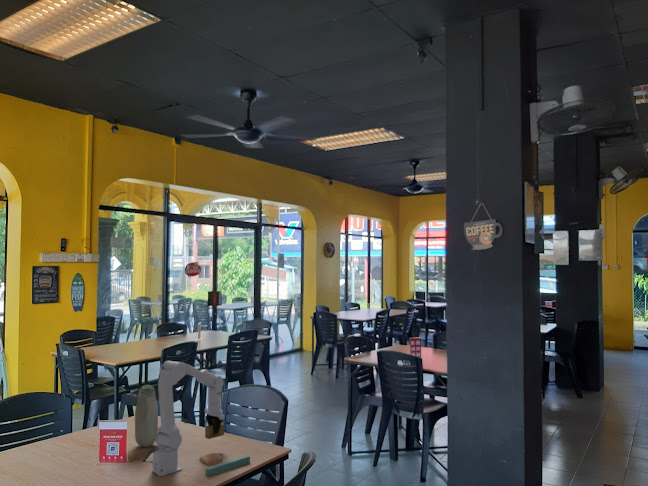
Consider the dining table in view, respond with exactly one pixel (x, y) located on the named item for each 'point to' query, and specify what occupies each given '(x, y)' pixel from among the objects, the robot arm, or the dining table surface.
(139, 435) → the olive grey vase
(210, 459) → the tile
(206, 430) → the tall cardboard box
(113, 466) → the dining table surface
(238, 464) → the rail
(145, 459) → the chocolate bar
